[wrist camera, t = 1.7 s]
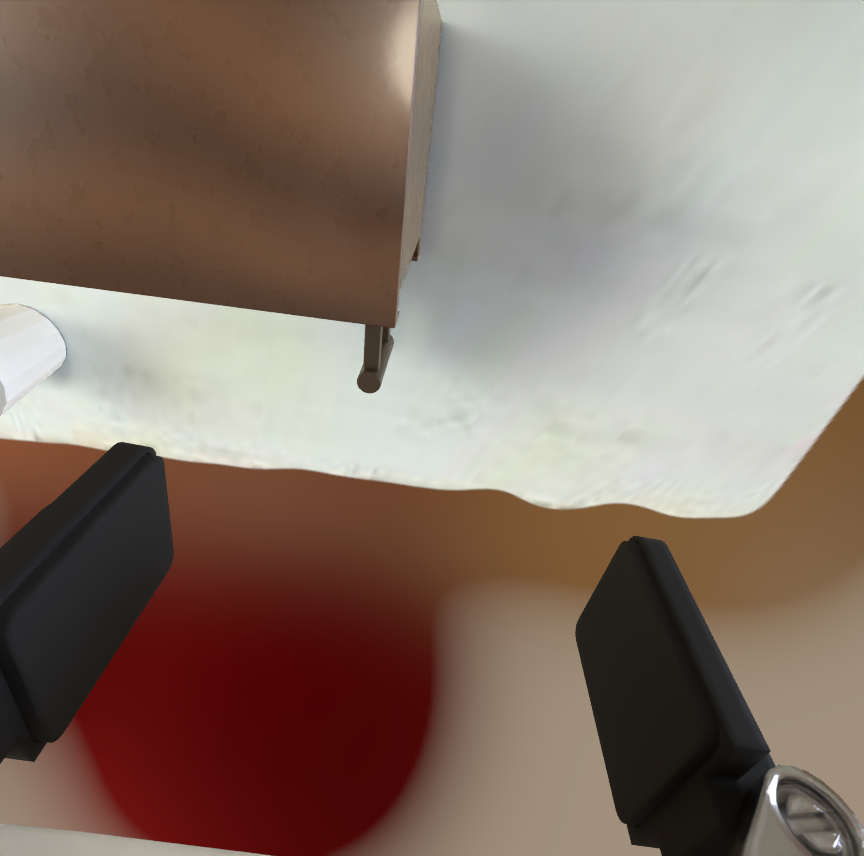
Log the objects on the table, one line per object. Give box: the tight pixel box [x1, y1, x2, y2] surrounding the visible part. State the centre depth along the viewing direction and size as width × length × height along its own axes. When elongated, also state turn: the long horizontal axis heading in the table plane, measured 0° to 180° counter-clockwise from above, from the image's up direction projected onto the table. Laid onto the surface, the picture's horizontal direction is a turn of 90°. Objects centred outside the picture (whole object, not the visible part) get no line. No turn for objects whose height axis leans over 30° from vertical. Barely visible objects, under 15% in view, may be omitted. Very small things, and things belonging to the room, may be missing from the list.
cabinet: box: [0, 0, 442, 328], centre depth 24 cm, size 12×18×13 cm
